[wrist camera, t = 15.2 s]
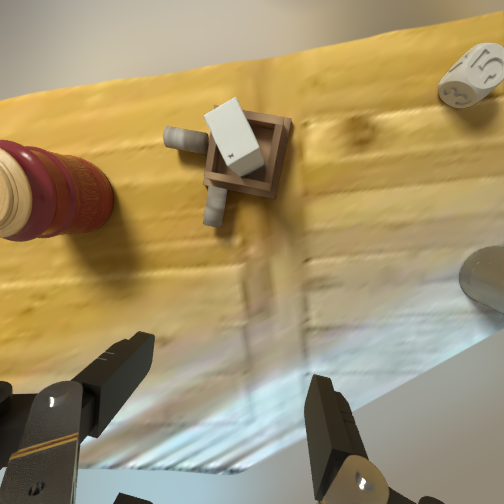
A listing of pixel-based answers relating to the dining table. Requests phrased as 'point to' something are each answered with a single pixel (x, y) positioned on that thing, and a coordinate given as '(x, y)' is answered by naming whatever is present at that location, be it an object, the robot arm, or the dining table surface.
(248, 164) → the skincare box
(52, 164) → the canister
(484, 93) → the die
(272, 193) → the block
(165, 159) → the dining table surface
